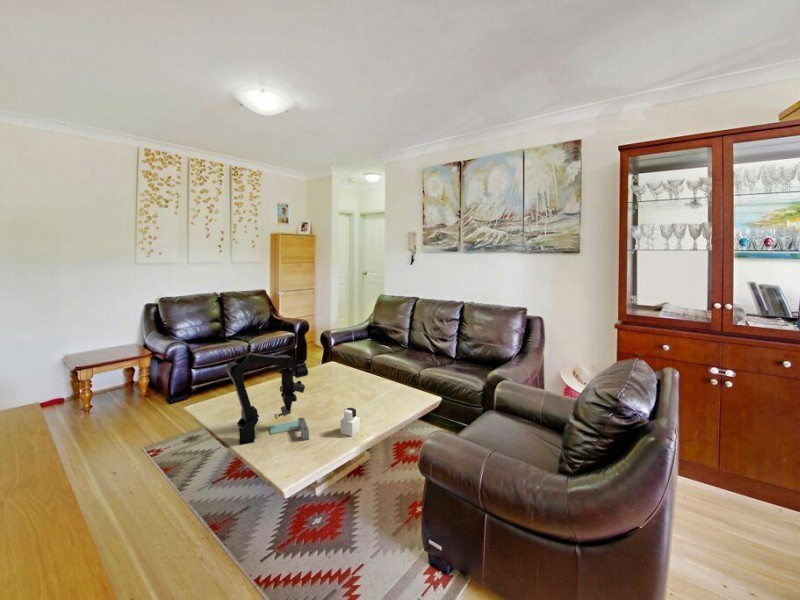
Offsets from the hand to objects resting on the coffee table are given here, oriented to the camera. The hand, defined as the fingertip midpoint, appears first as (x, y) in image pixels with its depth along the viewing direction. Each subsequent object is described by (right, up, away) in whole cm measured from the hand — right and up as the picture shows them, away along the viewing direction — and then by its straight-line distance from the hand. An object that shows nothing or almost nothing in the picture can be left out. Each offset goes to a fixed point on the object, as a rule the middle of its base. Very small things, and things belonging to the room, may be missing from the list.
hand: (288, 409), depth 188 cm
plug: (-2, -3, -1) cm, 3 cm away
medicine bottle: (+33, -11, -4) cm, 34 cm away
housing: (+9, -11, -6) cm, 15 cm away
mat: (-2, -10, 0) cm, 10 cm away
